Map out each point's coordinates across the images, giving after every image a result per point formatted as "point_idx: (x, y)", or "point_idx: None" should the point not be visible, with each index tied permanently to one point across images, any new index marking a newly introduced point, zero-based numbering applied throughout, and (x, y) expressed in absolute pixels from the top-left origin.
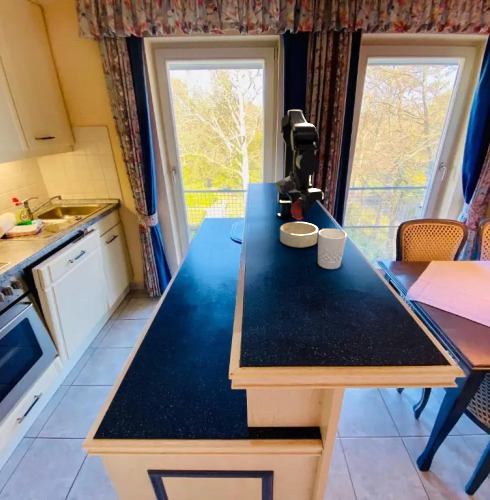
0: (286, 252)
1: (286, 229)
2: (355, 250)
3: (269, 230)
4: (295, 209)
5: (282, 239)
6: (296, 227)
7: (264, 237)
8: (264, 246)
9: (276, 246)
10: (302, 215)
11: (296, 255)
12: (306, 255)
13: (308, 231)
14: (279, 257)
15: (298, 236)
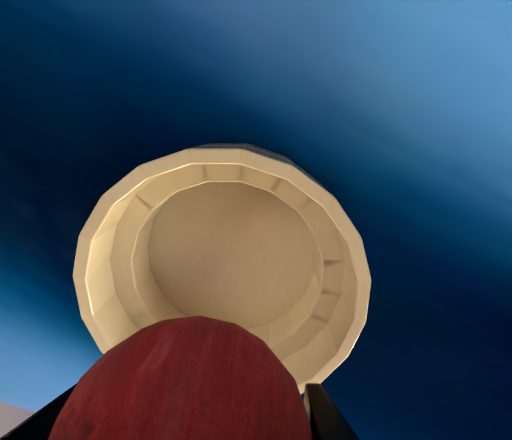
0: (104, 113)
1: (338, 241)
2: None
3: (482, 169)
4: (87, 408)
5: (214, 144)
6: (332, 316)
7: (384, 77)
8: (236, 5)
9: (207, 92)
10: (66, 394)
11: (52, 150)
12: (42, 201)
13: None
14: (44, 33)
15: (88, 223)
